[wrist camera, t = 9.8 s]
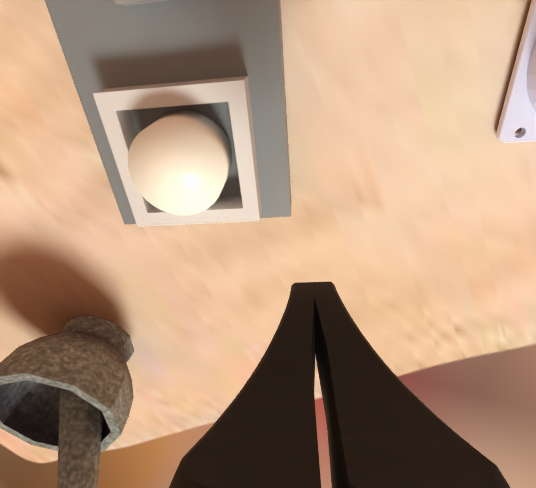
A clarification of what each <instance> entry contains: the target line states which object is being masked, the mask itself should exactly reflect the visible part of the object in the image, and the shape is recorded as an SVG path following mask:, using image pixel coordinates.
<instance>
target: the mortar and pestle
mask: <svg viewBox="0 0 536 488" xmlns="http://www.w3.org/2000/svg"><path fill="white" fill-rule="evenodd" d="M133 352H134V349H133V345H132V342H131V339H130V335H128V334H127V333H126V332H125V331H123V330H122V329H121V328H120V327H118V326H117V325H116V324H115V323H113V322H112V321H109V320H105V319H101V318H98V317H94V316H90V315H86V316H81V317H76V318H71V319H69V320H68V321H67V323H66V324H65V325H64V327H63V329H62V330H61V332H60V334H55V335H50V336H45V337H40V338H38V339H35V340H33V341H31V342H28V343H26V344H24V345H22V346H19V347H18V348H17V349H16V350H15V351H13V352H12V353H11V354H10V355H9V356H8V357H6V358H5V359H4V360H3V361H2V362H1V363H0V428H1V429H3V430H5V431H7V432H9V433H11V434H12V435H14V436H16V437H18V438H20V439H22V440H23V441H25V442H27V443H29V444H31V445H35V446H39V447H44V448H48V449H52V450H57V451H58V483H57V488H97V484H98V473H99V462H100V451H103V450H106V449H107V448H108V447H109V446H110V445H111V444H112V443H113V442H114V441H115V440H116V439H117V438H118V437H119V436H120V435H121V433H122V431H123V428H124V426H125V424H126V421H127V419H128V417H129V413H130V409H131V405H132V401H133V388H132V379H131V376H130V373H129V370H128V367H127V364H126V362H127V361H128V360H129V359H130V357H131V355H132V354H133Z"/></svg>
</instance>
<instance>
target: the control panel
mask: <svg viewBox="0 0 536 488" xmlns="http://www.w3.org/2000/svg"><path fill="white" fill-rule="evenodd" d="M45 2H46V5H47V8H48V11H49V14H50V16H51V19H52V22H53V25H54V28H55V30H56V33H57V36H58V39H59V42H60V45H61V47H62V50H63V53H64V56H65V59H66V61H67V64H68V67H69V70H70V73H71V75H72V78H73V81H74V84H75V87H76V89H77V92H78V95H79V98H80V101H81V103H82V106H83V109H84V112H85V115H86V117H87V120H88V123H89V126H90V129H91V131H92V134H93V137H94V140H95V143H96V146H97V148H98V151H99V154H100V157H101V160H102V162H103V165H104V168H105V171H106V174H107V176H108V179H109V182H110V185H111V188H112V190H113V193H114V196H115V199H116V202H117V204H118V207H119V210H120V213H121V216H122V218H123V221H124V224H137V227H142V226H164V225H186V224H208V223H229V222H251V221H260V218H269V217H290V216H291V190H290V171H289V153H288V135H287V117H286V99H285V81H284V63H283V44H282V26H281V8H280V0H45ZM179 110H189V111H194V112H198V113H201V114H203V115H205V116H207V117H209V118H210V119H212V120H213V121H214V122H215V123H216V124H218V125H219V127H220V128H221V129H222V130H223V131H224V133H225V135H226V136H227V138H228V140H229V143H230V146H231V150H232V167H231V170H230V173H229V175H228V178H227V180H226V182H225V184H224V187H223V189H222V191H221V193H220V195H219V197H218V199H217V200H216V201H215V203H214V204H213V205H212V206H210V207H209V208H208V209H206V210H204V211H202V212H200V213H197V214H193V215H175V214H171V213H167V212H165V211H162V210H160V209H158V208H156V207H155V206H153V205H152V204H150V203H149V202H148V201H147V200H146V199H145V198H144V197H143V196H142V195H141V194H140V193H139V192H138V190H137V189H136V187H135V186H134V184H133V182H132V179H131V177H130V174H129V170H128V153H129V149H130V146H131V144H132V142H133V140H134V139H135V137H136V136H137V135H138V134H139V133H140V132H141V131H142V130H144V129H145V128H147V127H148V126H149V125H151V124H152V123H154V122H155V121H157V120H158V119H160V118H161V117H163V116H164V115H166V114H168V113H171V112H174V111H179Z"/></svg>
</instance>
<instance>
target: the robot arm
mask: <svg viewBox="0 0 536 488" xmlns="http://www.w3.org/2000/svg"><path fill="white" fill-rule="evenodd" d="M519 128H522V131H521V132H520V134H518V135H516V136H515V132H516V130H518V129H519ZM496 137H497V139H498V140H500V141H501V142H504V143H513V142H529V141H536V0H532V1H531V5H530V8H529V12H528V16H527V20H526V23H525V27H524V31H523V35H522V38H521V42H520V46H519V50H518V53H517V57H516V61H515V65H514V68H513V72H512V76H511V80H510V83H509V87H508V91H507V94H506V98H505V102H504V106H503V109H502V113H501V117H500V121H499V124H498V128H497V132H496ZM315 354H316V361H317V367H318V373H319V379H320V385H321V391H322V397H323V403H324V409H325V415H326V422H327V430H328V443H329V456H330V468H331V482H332V488H510V487H509V485H508V483H507V481H506V480H505V478H504V477H503V475H502V473H501V472H500V470H499V469H498V467H497V466H496V465H495V464H494V463H493V462H491V461H490V460H489V459H487V458H486V457H485V456H483V455H482V454H481V453H480V452H479V451H477V450H476V449H475V448H473V447H472V446H471V445H470V444H469V443H467V442H466V441H465V440H464V439H463V438H461V437H460V436H459V435H458V434H456V433H455V432H454V431H453V430H452V429H451V428H450V427H448V426H447V425H446V424H445V423H444V422H443V421H442V420H440V419H439V418H438V417H437V416H436V415H435V414H434V413H433V412H432V411H431V410H430V409H428V408H427V407H426V406H425V405H424V404H423V403H422V402H421V401H420V400H419V399H418V398H417V397H416V396H415V395H414V394H413V393H412V392H411V391H410V390H409V389H408V388H407V387H406V386H405V385H404V384H403V383H402V382H401V381H400V380H399V378H398V377H397V376H396V375H395V374H394V373H393V372H392V371H391V370H390V368H389V367H388V366H387V365H386V364H385V363H384V362H383V360H382V359H381V358H380V357H379V355H378V354H377V353H376V352H375V350H374V349H373V348H372V346H371V345H370V344H369V342H368V341H367V340H366V338H365V337H364V336H363V334H362V333H361V331H360V330H359V328H358V327H357V325H356V324H355V322H354V321H353V319H352V318H351V316H350V315H349V313H348V311H347V310H346V308H345V306H344V304H343V302H342V301H341V299H340V297H339V295H338V293H337V290H336V288H335V286H334V284H333V283H332V282H306V283H294V284H293V285H292V286H291V292H290V297H289V300H288V303H287V306H286V309H285V312H284V314H283V317H282V319H281V322H280V324H279V326H278V329H277V331H276V333H275V335H274V337H273V339H272V341H271V343H270V345H269V347H268V349H267V350H266V352H265V354H264V356H263V357H262V359H261V361H260V363H259V364H258V366H257V367H256V369H255V371H254V372H253V374H252V375H251V377H250V378H249V379H248V381H247V382H246V384H245V385H244V387H243V388H242V390H241V391H240V392H239V394H238V395H237V396H236V398H235V399H234V400H233V402H232V403H231V404H230V405H229V406H228V408H227V409H226V410H225V411H224V413H223V414H222V415H221V416H220V418H219V419H218V420H217V421H216V422H215V424H214V425H213V426H212V427H211V428H210V429H209V430H208V431H207V433H206V434H205V435H204V436H203V437H202V438H201V439H200V440H199V441H198V442H197V443H196V444H195V445H194V447H192V448H191V449H190V451H189V452H188V453H187V454H186V455H185V456H184V457H183V458H182V460H181V462H180V464H179V466H178V468H177V471H176V473H175V475H174V477H173V480H172V482H171V485H170V487H169V488H321V479H320V468H319V455H318V441H317V429H316V416H315V402H314V401H315V400H314V379H315Z"/></svg>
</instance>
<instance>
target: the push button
mask: <svg viewBox="0 0 536 488" xmlns="http://www.w3.org/2000/svg"><path fill="white" fill-rule="evenodd" d="M231 167H232V150H231V146H230V143H229V140H228V138H227V136H226V135H225V133H224V131H223V130H222V129H221V128H220V127H219V125H218V124H216V123H215V122H214V121H213V120H212V119H210V118H209V117H207V116H205V115H203V114H201V113H198V112H194V111H189V110H179V111H174V112H171V113H168V114H166V115H164V116H163V117H161V118H160V119H158V120H157V121H155V122H154V123H152V124H151V125H149V126H148V127H147V128H145V129H144V130H142V131H141V132H140V133H139V134H138V135H137V136H136V137H135V139H134V140H133V142H132V144H131V146H130V149H129V153H128V170H129V174H130V177H131V179H132V182H133V184H134V186H135V187H136V189H137V190H138V192H139V193H140V194H141V195H142V196H143V197H144V198H145V199H146V200H147V201H148V202H149V203H150V204H152V205H153V206H155V207H156V208H158V209H160V210H162V211H165V212H167V213H171V214H175V215H193V214H197V213H200V212H202V211H204V210H206V209H208V208H209V207H210V206H212V205H213V204H214V203H215V201H216V200H217V199H218V197H219V195H220V193H221V191H222V189H223V187H224V184H225V182H226V180H227V178H228V175H229V173H230V170H231Z"/></svg>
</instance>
